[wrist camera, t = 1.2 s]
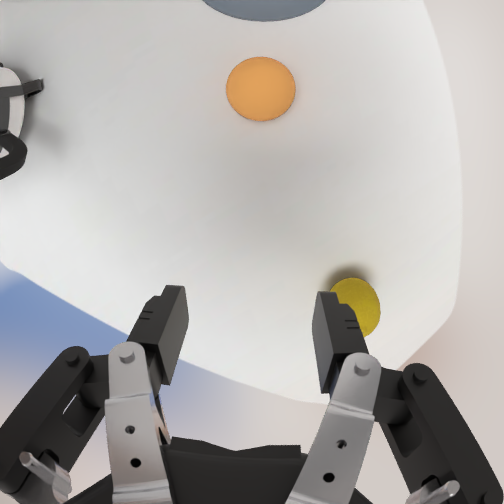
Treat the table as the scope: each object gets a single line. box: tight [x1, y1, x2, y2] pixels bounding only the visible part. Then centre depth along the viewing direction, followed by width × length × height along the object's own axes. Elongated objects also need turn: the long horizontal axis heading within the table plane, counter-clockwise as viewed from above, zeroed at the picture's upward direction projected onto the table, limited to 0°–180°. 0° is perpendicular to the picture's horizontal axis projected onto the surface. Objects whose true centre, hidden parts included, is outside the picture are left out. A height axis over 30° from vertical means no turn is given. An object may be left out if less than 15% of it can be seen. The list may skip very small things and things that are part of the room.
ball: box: [226, 57, 295, 121], centre depth 21 cm, size 6×6×6 cm
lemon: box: [330, 278, 380, 337], centre depth 29 cm, size 6×6×8 cm
